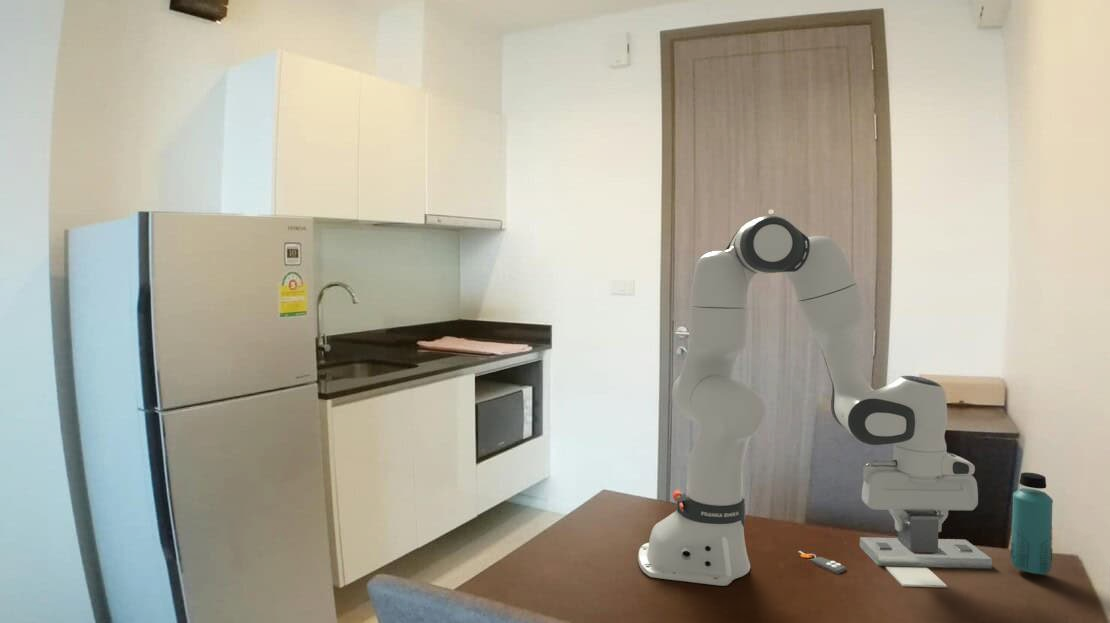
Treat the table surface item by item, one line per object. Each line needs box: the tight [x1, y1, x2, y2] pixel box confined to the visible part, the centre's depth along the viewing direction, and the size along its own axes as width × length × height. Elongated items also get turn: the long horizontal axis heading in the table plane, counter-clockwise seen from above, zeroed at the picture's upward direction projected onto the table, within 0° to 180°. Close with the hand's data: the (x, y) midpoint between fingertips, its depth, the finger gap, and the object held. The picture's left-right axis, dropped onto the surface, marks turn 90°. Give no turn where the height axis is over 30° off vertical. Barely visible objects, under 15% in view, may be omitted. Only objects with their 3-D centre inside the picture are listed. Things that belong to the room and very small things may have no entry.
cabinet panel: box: [859, 536, 993, 569], centre depth 130 cm, size 22×9×2 cm, turn 86°
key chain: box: [797, 550, 847, 575], centre depth 129 cm, size 13×4×2 cm, turn 33°
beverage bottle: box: [1009, 471, 1054, 575], centre depth 122 cm, size 6×7×20 cm
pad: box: [885, 566, 948, 589], centre depth 121 cm, size 8×7×1 cm
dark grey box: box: [897, 510, 940, 553], centre depth 120 cm, size 5×5×7 cm
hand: (917, 530), depth 120 cm, fingers closed on dark grey box, 5 cm apart
